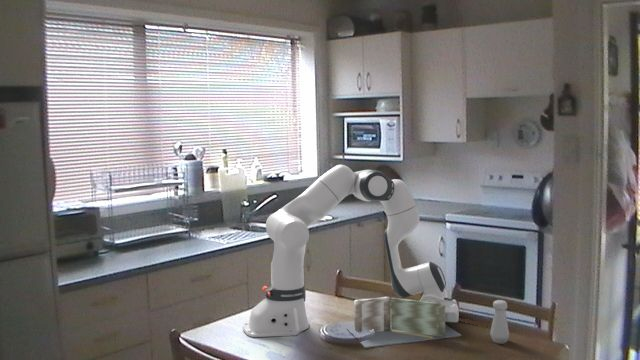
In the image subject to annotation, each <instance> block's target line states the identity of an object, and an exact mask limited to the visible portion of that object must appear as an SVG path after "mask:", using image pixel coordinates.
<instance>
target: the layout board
mask: <svg viewBox="0 0 640 360" xmlns="http://www.w3.org/2000/svg"><path fill="white" fill-rule="evenodd" d="M457 337H458V338H459V337H462V334H461V333H459V332H457V331H456V330H455V329H454V328H451V327H450V326H448V325H447V324H446V323H445V337H439V336H434V335H427V334H420V333H413V332H406V331H398V330H390V331H379V332H375V334H374V335H373V337H372V338H370V339H368V340H365V341H362V342H359V344H361V345H362V346H363V347H364V348H365V349H369V348H370V349H371V348H377V347H378V348H379V347H386V346H392V345H400V344H409V343H416V342H418V343H419V342H426V341H432V340H433V341H434V340H439V339H440V340H441V339H446V338H447V339H449V338H457Z"/></svg>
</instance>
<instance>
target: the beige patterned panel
mask: <svg viewBox="0 0 640 360" xmlns="http://www.w3.org/2000/svg"><path fill="white" fill-rule="evenodd" d="M353 303H354V304H353V308H354V327H355V331H356V332H361V331H363V330H372V329H374V331H375V332H379V331H390V330H391V296H381V297H370V298H361V299H355V300H354V302H353Z"/></svg>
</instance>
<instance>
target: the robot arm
mask: <svg viewBox="0 0 640 360" xmlns="http://www.w3.org/2000/svg"><path fill="white" fill-rule="evenodd" d="M348 196H351V197H353V198H355V199H356V200H361V201H363V202H372V203H373V202H374V203H375V202H380V203H381V206H382V207H383V209H384V212H385V214H386V218H387V228H386V229H385V230H384V234H383V235H384V237H383V239H384V246H385V252H386V257H387V262H388V269H389V273H390V282H391V283H390V284H391V289H392V291H393V293H394V295H396V296H398V297H400V298H401V299H408V298H409V297H413V296H414V295H417V294H422V293H423V294H422V295H421V298H420V299H419V301H426V302H435V303H441V305H445V323H446V322H447V323H459V316H460V314H459V310H460V309H459V307H458V306H459V305H458V304H457V300H456V299H452V298H448V292H447V290H446V286H447V283H446V278H445V275H444V271H442V268H441V267H440V266H439V265H438V264H436V263H435V262H432V261H428V262H425V263H421V264H418V265H414V266H411V267H407V268H403V266H402V262H401V256H400V251H399V245H400V243H401V242H402V241H403V240H404V239H406V238H407V237H408V236H409V235H410V234H412V233H413V232H414V231H415V230H416V229H417V227H418V226H419V223H420V213H419V209H418V206H417V204H416V202H415V199H414V197H413V195H412V192H411V191H410V188H409V187H408V186H407V184H406V182H405V181H403V180H402V179H397V178H396V179H395V178H394V179H391V178H390V177H389V176H387V175H386V174H385V173H384V172H382V171H379V170H376V169H362V170H355V171H354V170H352V169H351V168H350V167H349V166H347V165H345V164H337V165H335V166H333V167H332V168H331V169H328V170H327V171H326V172H324V173H323V174H322V175H321V176H319V178H317V179H316V180H315V181H314V182H313V183H312V184H310V186H308V187H307V188H306V189H305V190H304V191H303V192H302V193H301V194H300V195H298V196H297V197H296V198H294V199H292V200H291V201H290V202H288V203H287V204H285V205H284V206H282V207H281V208H280V209H278V210H277V211H275V212H274V213H271V214H270V215H268V217H267V219H266V222H265V229H266V234H267V235H268V237H269V238H270V240H272V241H273V254H272V260H271V262H270V283H271V284H270V286H269V287H268V286H266V285H264V286H263V287H262V289H261V290H262V291H263V293H265V298H263V299H262V300H261V301H260V302H258V304H257V305H255V306H254V307H253V308H252V309H251V311H250V314H249V320H248V321H245V322H244V323H243V325H242V329H243V332H244V334H246V336H249V337H251V338H264V337H285V336H288V337H289V336H297V335H299V334H301V332H303V331H305V330H307V329H309V328H310V323H309V320H308V319H309V318H308V315H307V310H306V304H305V302H306V297H307V296H306V286H305V284H304V281H305V279H304V276H305V275H304V271H305V269H304V266H305V264H304V263H305V255H306V248H307V243H308V242H309V238H310V231H309V228H308V227H310V226H312V225H313V224H315V223H317V222H318V221H320V220H322V219H324V217H326V216H327V215H328V214H330V212H331V211H332V210H333V209H334V208H336V207H337V205H339V204H340V203H341V202H342V200H344V199H345V198H346V197H348Z"/></svg>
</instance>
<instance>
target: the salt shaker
mask: <svg viewBox="0 0 640 360" xmlns="http://www.w3.org/2000/svg"><path fill="white" fill-rule="evenodd" d="M492 307H493V309H494V312H493V319H492V323H491V327H490V332H489V334H490V338H491V339H492V342H493V343H495V344H502V345H504V344H505V343H507V342H508V340H509V338H510V331H509V330H510V329H509V324H508V318H507V312H506V310H507V309H508V302H507V301H505V300H502V299H497V300H494V301H493V303H492Z"/></svg>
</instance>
